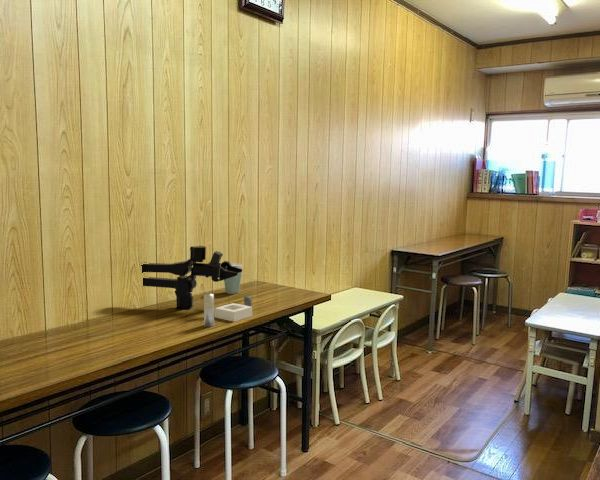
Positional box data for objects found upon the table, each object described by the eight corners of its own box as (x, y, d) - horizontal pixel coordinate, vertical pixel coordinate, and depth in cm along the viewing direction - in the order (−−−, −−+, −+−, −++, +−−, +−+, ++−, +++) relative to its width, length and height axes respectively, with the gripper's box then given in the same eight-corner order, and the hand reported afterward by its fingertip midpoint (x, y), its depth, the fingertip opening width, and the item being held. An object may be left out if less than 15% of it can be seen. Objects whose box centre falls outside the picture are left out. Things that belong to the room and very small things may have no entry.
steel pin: (203, 326, 206) (202, 295, 205) (205, 324, 210) (204, 293, 209) (213, 327, 206) (212, 295, 205) (215, 324, 210) (214, 293, 209)
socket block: (234, 321, 214) (234, 312, 213) (214, 317, 220) (214, 308, 220) (252, 316, 223) (252, 306, 222) (233, 312, 229) (232, 303, 229)
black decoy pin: (243, 311, 231) (243, 297, 230) (244, 309, 234) (244, 296, 233) (251, 311, 231) (250, 297, 230) (252, 309, 234) (252, 296, 233)
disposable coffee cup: (235, 289, 275) (235, 261, 273) (247, 293, 267) (247, 263, 265) (218, 292, 268) (217, 263, 267) (229, 296, 260) (229, 266, 258)
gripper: (199, 254, 224) (235, 257, 222) (211, 249, 242) (245, 251, 240) (198, 280, 225) (234, 283, 223) (210, 273, 243) (244, 275, 242)
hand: (239, 272), depth 232 cm, fingers open, 9 cm apart
